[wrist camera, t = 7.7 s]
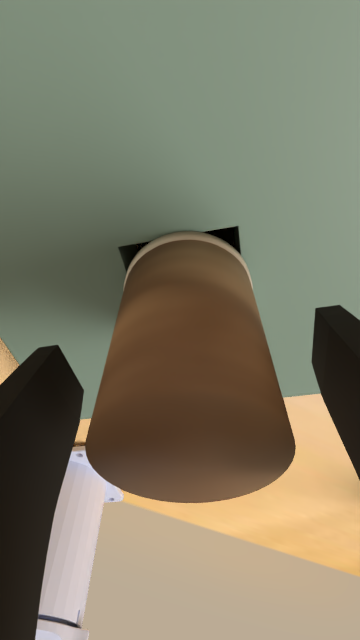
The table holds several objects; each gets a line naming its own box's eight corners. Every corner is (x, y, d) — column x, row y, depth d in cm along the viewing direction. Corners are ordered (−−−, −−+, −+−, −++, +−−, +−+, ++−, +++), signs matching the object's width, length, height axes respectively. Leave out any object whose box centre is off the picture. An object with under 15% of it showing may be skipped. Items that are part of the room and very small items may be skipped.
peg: (150, 306, 16) (123, 510, 9) (118, 215, 13) (43, 407, 6) (246, 289, 15) (298, 495, 8) (234, 190, 12) (297, 374, 5)
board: (72, 384, 19) (59, 421, 18) (-208, -84, 8) (-326, -124, 6) (363, 348, 17) (385, 386, 15) (503, -336, 6) (643, -504, 4)
